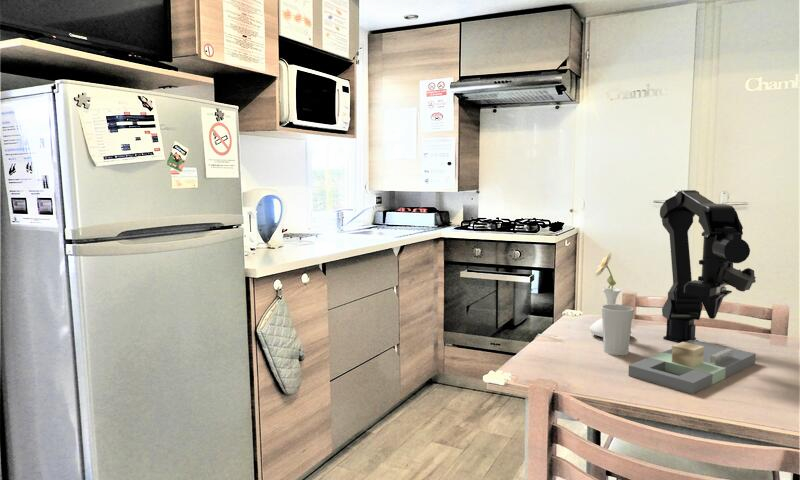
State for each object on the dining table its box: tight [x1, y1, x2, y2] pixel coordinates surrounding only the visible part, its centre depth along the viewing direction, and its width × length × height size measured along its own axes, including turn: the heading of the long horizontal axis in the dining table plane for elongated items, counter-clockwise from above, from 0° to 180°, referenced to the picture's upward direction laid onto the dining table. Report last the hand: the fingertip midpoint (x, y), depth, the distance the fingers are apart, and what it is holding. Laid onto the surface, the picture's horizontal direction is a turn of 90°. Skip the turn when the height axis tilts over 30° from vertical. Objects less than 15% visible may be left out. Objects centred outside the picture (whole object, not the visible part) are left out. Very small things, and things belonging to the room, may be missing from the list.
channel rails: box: [671, 340, 734, 365], centre depth 144 cm, size 10×9×2 cm
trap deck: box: [628, 339, 757, 395], centre depth 142 cm, size 15×32×2 cm, turn 128°
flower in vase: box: [589, 251, 632, 338], centre depth 168 cm, size 13×11×25 cm
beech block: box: [671, 342, 704, 367], centre depth 139 cm, size 5×5×4 cm
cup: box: [600, 303, 635, 356], centre depth 155 cm, size 8×8×12 cm
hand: (712, 318), depth 146 cm, fingers closed
